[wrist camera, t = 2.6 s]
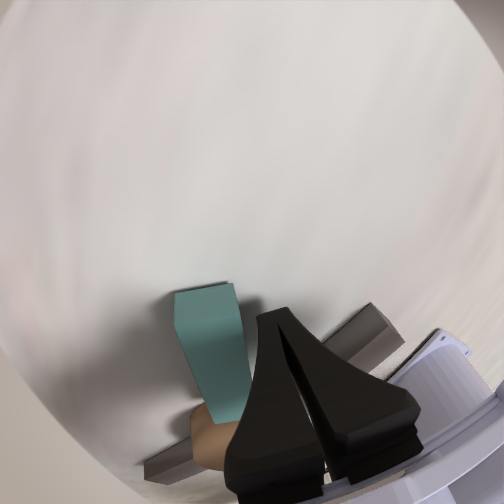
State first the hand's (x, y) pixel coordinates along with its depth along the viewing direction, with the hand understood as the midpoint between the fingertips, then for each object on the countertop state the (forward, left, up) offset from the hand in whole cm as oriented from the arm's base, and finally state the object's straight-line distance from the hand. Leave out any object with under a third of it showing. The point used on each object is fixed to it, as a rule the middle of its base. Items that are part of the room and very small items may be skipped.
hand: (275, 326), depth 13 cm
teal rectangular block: (+1, +3, -1) cm, 4 cm away
